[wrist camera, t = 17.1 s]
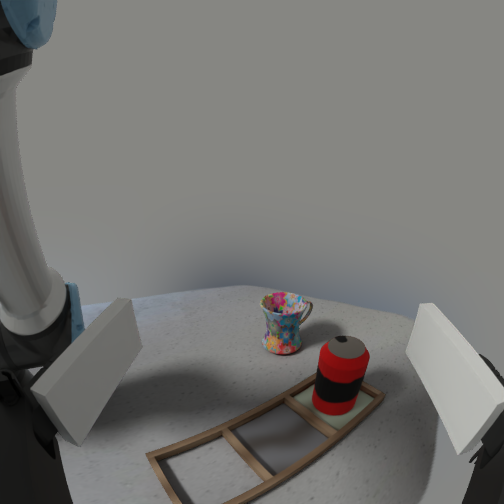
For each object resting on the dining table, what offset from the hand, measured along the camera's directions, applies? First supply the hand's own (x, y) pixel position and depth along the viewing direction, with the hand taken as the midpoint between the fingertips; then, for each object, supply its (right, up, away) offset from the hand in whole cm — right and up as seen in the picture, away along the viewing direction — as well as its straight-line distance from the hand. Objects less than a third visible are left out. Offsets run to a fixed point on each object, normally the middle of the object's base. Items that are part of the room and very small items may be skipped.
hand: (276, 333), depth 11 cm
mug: (+7, -17, +47) cm, 50 cm away
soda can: (+13, -22, +29) cm, 38 cm away
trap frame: (+3, -24, +23) cm, 33 cm away
